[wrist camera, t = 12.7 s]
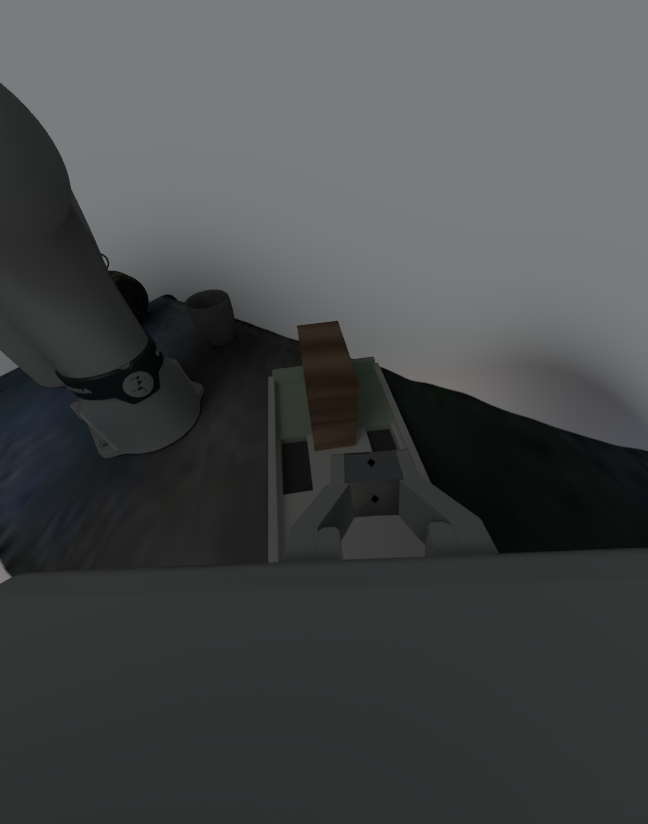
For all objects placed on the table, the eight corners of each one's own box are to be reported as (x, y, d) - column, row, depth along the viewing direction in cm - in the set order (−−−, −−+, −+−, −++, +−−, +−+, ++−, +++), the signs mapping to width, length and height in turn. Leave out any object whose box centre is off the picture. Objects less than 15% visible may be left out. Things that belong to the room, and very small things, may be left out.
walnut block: (355, 445, 39) (359, 384, 30) (314, 451, 39) (306, 391, 30) (338, 381, 49) (337, 320, 40) (305, 386, 48) (297, 325, 39)
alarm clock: (150, 310, 74) (112, 243, 62) (161, 315, 72) (125, 247, 60) (111, 329, 68) (62, 260, 56) (123, 335, 66) (73, 264, 54)
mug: (249, 333, 64) (237, 293, 57) (224, 354, 59) (207, 312, 51) (211, 323, 68) (195, 284, 61) (184, 342, 63) (164, 302, 56)
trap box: (470, 602, 28) (487, 595, 24) (274, 637, 27) (264, 635, 23) (376, 375, 52) (378, 355, 48) (271, 389, 50) (266, 370, 47)
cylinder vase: (72, 393, 53) (-77, 251, 34) (24, 385, 55) (-138, 248, 37) (118, 355, 61) (19, 223, 42) (75, 349, 63) (-37, 222, 45)
